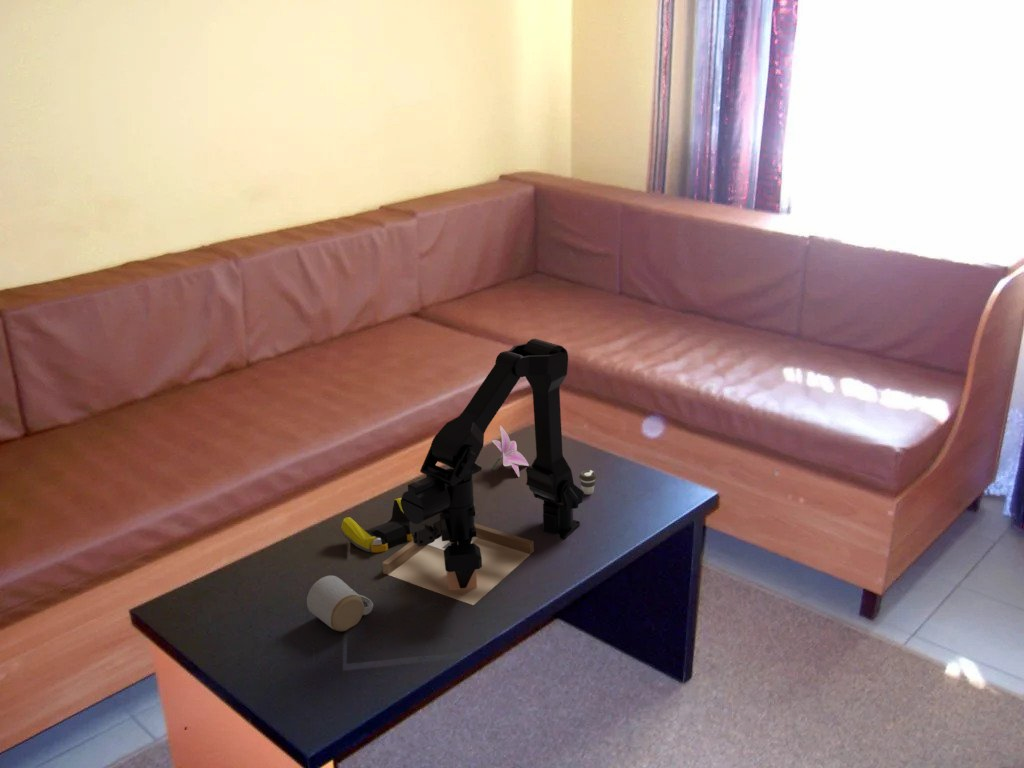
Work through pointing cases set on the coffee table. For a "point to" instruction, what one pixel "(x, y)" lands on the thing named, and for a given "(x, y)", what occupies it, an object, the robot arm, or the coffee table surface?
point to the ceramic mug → (337, 603)
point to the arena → (429, 564)
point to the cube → (454, 583)
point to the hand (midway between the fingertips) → (461, 577)
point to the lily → (509, 452)
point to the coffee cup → (587, 481)
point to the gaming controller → (379, 532)
